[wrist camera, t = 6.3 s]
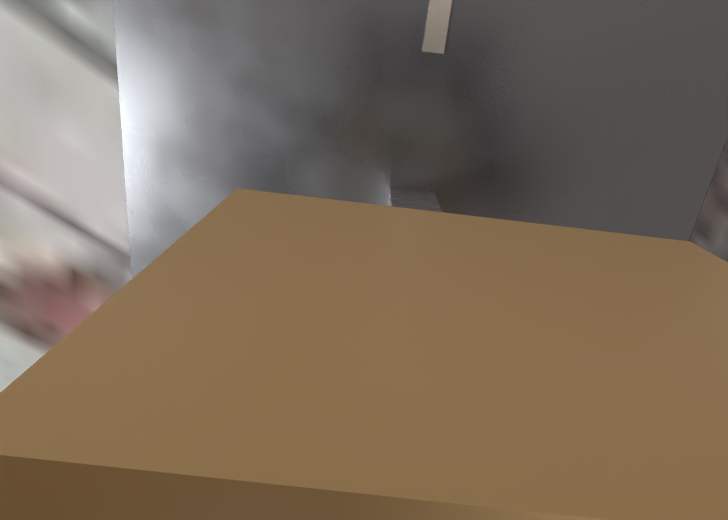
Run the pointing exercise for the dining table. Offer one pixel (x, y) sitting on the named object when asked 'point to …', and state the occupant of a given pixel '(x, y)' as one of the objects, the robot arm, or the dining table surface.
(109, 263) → the dining table surface
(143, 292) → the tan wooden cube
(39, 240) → the dining table surface
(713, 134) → the hub plate
